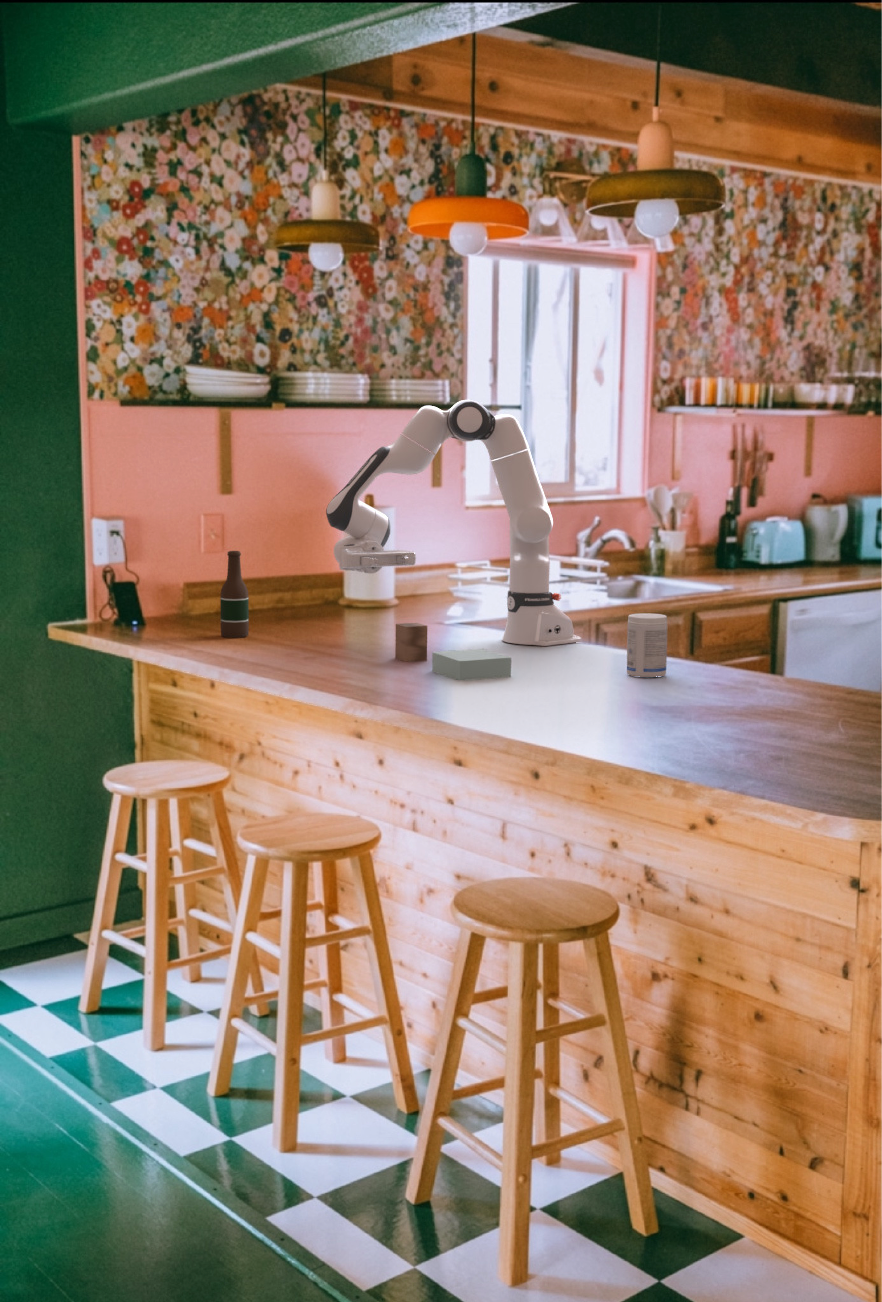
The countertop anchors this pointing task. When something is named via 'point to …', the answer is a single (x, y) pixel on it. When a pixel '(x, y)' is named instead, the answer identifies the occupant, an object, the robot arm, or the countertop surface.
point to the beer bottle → (234, 601)
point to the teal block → (471, 664)
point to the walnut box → (411, 642)
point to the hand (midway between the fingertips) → (391, 561)
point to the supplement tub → (647, 645)
